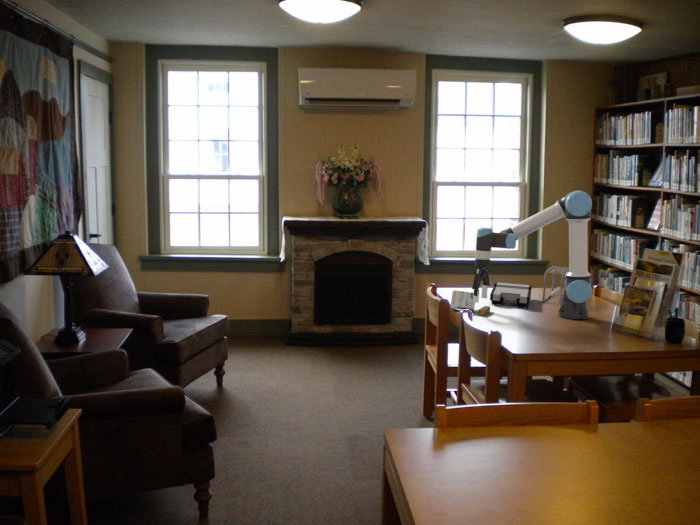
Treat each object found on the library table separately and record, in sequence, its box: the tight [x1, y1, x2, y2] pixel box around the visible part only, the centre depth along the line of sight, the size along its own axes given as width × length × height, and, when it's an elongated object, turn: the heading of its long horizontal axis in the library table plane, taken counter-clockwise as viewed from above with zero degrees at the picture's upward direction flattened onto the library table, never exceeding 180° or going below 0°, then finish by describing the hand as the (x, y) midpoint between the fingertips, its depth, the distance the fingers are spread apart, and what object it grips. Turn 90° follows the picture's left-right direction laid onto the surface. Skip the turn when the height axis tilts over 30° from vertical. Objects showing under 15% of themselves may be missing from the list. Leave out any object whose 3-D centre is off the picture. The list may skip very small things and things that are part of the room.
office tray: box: [489, 281, 533, 309], centre depth 395 cm, size 21×32×8 cm, turn 164°
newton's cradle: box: [542, 265, 569, 305], centre depth 408 cm, size 30×10×18 cm, turn 155°
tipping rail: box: [477, 305, 491, 317], centre depth 360 cm, size 2×12×3 cm, turn 152°
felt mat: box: [455, 309, 496, 318], centre depth 362 cm, size 16×14×1 cm
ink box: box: [450, 289, 476, 311], centre depth 366 cm, size 9×5×12 cm
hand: (479, 300), depth 360 cm, fingers open, 13 cm apart
